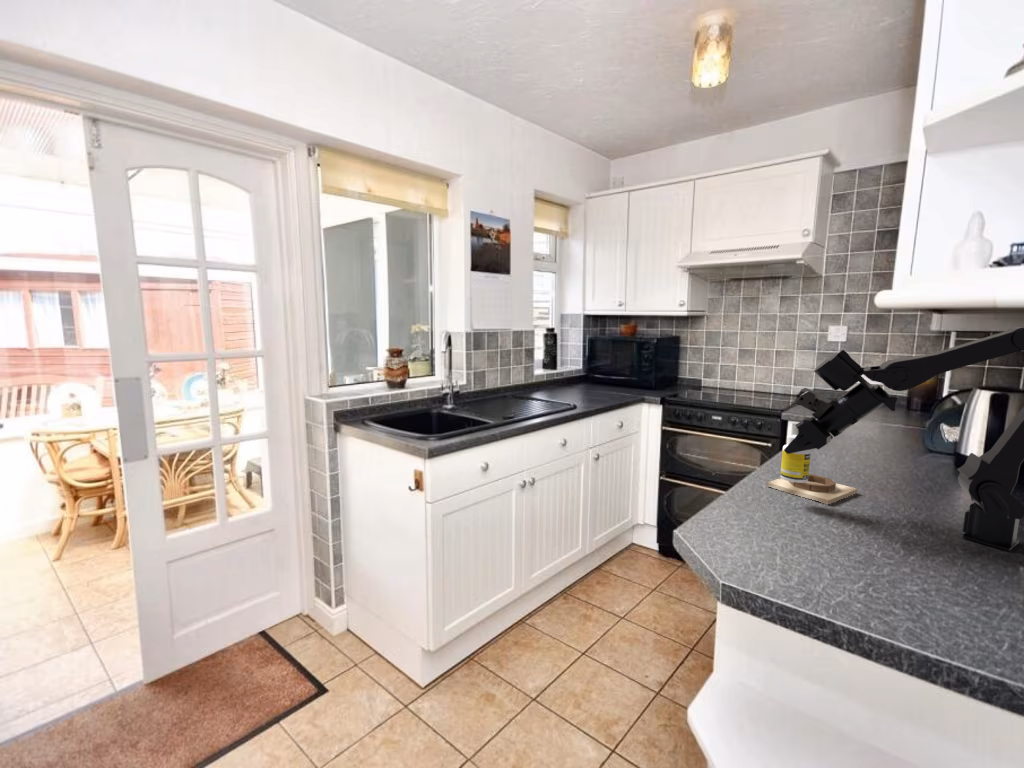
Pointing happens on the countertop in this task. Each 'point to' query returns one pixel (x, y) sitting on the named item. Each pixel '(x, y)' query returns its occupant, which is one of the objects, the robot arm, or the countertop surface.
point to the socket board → (814, 495)
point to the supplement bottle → (795, 464)
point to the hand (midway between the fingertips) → (789, 449)
